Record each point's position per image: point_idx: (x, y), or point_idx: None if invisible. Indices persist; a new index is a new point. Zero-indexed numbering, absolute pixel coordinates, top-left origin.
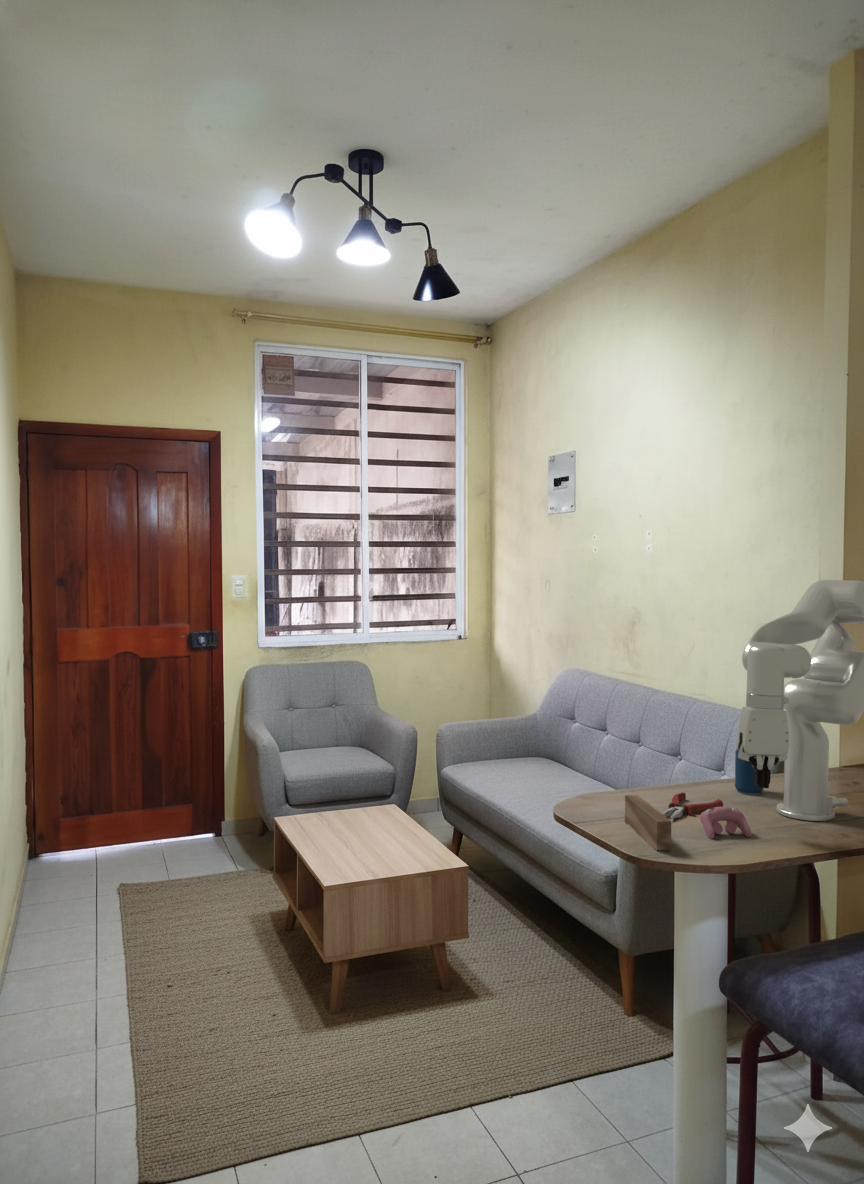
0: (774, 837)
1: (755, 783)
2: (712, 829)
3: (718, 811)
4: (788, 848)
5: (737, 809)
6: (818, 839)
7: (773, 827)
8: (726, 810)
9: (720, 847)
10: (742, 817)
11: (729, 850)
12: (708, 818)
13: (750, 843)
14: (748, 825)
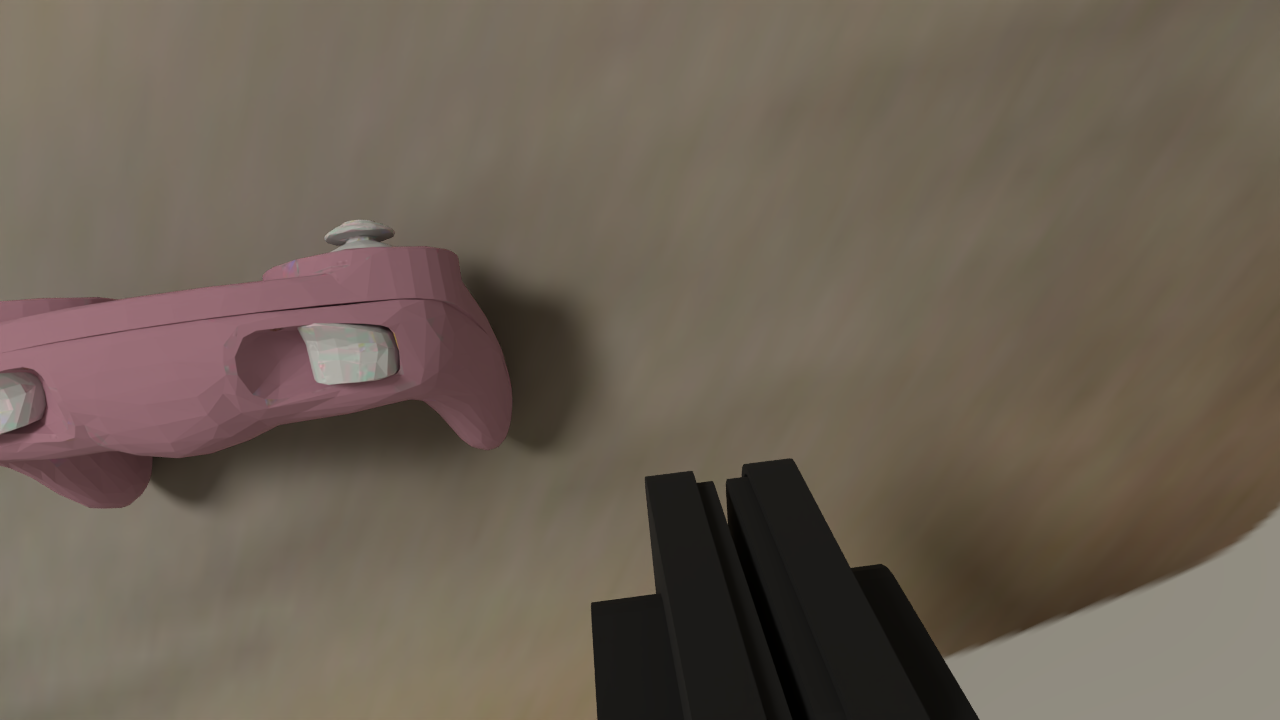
0: (729, 390)
1: (648, 510)
2: (100, 507)
3: (104, 447)
4: None
5: (369, 379)
6: (1078, 423)
7: (872, 79)
8: (204, 451)
9: (189, 638)
10: (431, 402)
11: (249, 689)
12: (12, 466)
13: (460, 542)
14: (487, 431)
